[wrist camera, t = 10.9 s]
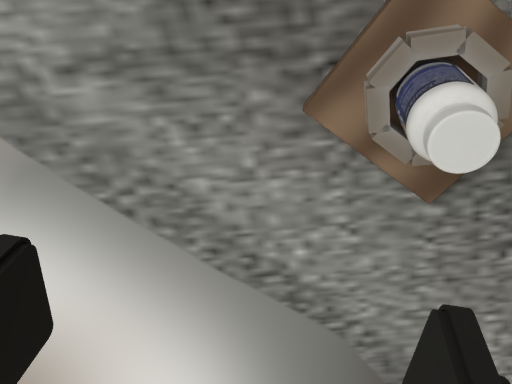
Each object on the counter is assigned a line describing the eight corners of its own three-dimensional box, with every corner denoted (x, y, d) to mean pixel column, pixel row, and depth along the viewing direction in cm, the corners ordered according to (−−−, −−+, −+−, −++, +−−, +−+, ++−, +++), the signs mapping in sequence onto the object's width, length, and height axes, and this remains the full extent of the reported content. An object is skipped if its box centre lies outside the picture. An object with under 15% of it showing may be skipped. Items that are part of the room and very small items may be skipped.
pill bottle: (378, 102, 34) (394, 154, 26) (425, 43, 31) (461, 78, 23) (431, 138, 35) (464, 199, 26) (482, 83, 32) (537, 132, 24)
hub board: (303, 104, 36) (301, 120, 33) (428, -51, 30) (440, -51, 27) (425, 195, 39) (434, 217, 36) (565, 71, 32) (591, 84, 29)
